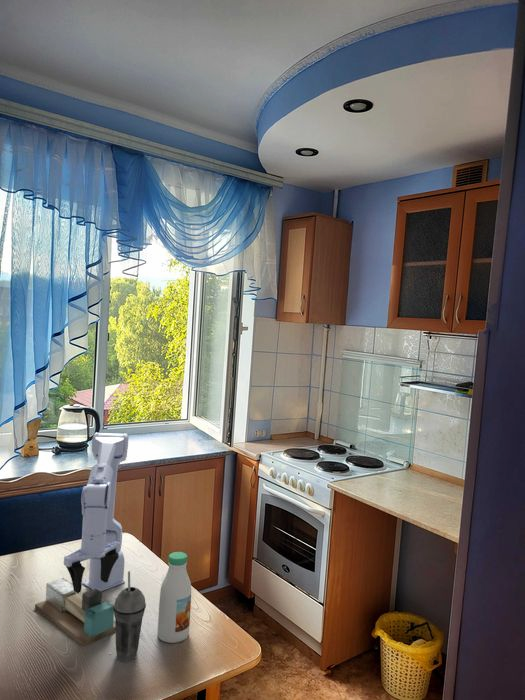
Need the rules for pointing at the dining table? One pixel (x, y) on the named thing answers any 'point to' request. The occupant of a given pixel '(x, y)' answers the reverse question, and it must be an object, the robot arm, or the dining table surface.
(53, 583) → the sleeve
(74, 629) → the base board
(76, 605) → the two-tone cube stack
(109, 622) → the socket
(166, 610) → the milk bottle
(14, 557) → the dining table surface
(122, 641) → the beverage cup
